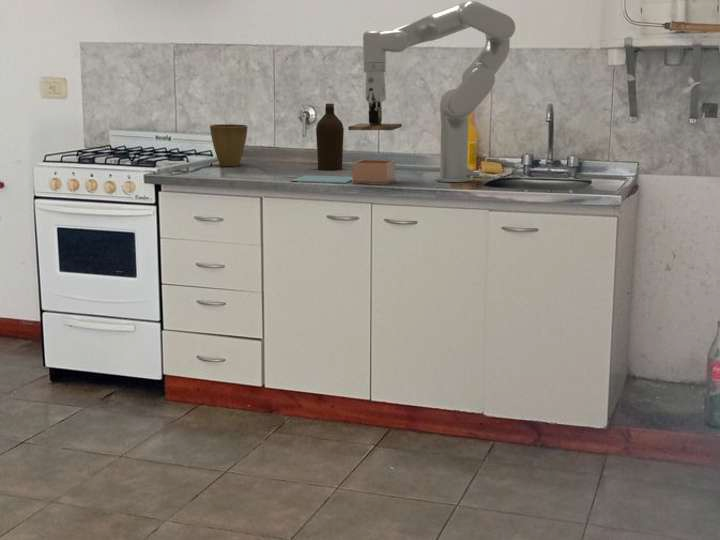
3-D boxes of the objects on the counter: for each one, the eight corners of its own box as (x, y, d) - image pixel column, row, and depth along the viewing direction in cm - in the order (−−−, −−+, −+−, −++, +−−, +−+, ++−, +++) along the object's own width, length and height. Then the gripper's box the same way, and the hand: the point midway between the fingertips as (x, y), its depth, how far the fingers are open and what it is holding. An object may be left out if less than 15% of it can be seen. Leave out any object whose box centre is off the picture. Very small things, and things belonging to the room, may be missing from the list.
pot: (394, 180, 370) (395, 160, 368) (386, 184, 358) (386, 163, 357) (362, 179, 373) (362, 159, 371) (352, 183, 361) (352, 162, 360)
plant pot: (204, 167, 414) (203, 126, 411) (219, 163, 428) (218, 123, 425) (240, 168, 410) (239, 126, 407) (254, 164, 424) (253, 124, 421)
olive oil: (343, 170, 401) (343, 104, 396) (316, 170, 401) (315, 104, 396) (343, 167, 412) (343, 103, 407) (316, 167, 412) (316, 103, 407)
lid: (401, 127, 367) (401, 106, 366) (391, 130, 353) (391, 108, 351) (360, 126, 371) (359, 106, 370) (348, 130, 357) (347, 108, 355)
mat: (358, 178, 376) (358, 177, 376) (345, 183, 361) (345, 182, 360) (305, 176, 381) (305, 175, 381) (290, 181, 366) (290, 180, 366)
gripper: (379, 68, 349) (379, 124, 353) (391, 67, 365) (391, 120, 368) (357, 68, 351) (358, 124, 355) (370, 67, 367) (371, 120, 370)
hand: (375, 121), depth 361 cm, fingers closed on lid, 4 cm apart
